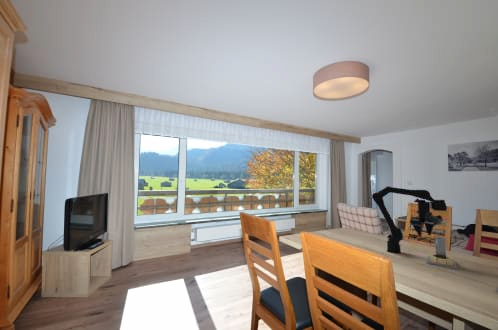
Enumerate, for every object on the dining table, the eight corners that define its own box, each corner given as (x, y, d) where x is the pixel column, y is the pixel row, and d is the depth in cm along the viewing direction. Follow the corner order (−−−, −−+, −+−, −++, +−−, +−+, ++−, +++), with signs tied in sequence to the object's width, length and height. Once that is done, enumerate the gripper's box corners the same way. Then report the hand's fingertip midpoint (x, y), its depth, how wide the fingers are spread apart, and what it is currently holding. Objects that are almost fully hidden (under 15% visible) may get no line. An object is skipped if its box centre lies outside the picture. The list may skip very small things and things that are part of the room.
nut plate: (427, 263, 119) (427, 257, 120) (427, 257, 128) (427, 251, 129) (457, 269, 112) (457, 262, 112) (455, 263, 121) (455, 256, 121)
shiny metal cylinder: (436, 261, 120) (434, 237, 121) (435, 259, 123) (434, 236, 124) (446, 263, 117) (445, 239, 118) (446, 261, 120) (445, 237, 121)
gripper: (429, 212, 123) (430, 240, 122) (448, 211, 130) (449, 237, 129) (408, 209, 133) (409, 235, 132) (427, 208, 140) (428, 233, 139)
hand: (424, 235), depth 133 cm, fingers open, 9 cm apart
